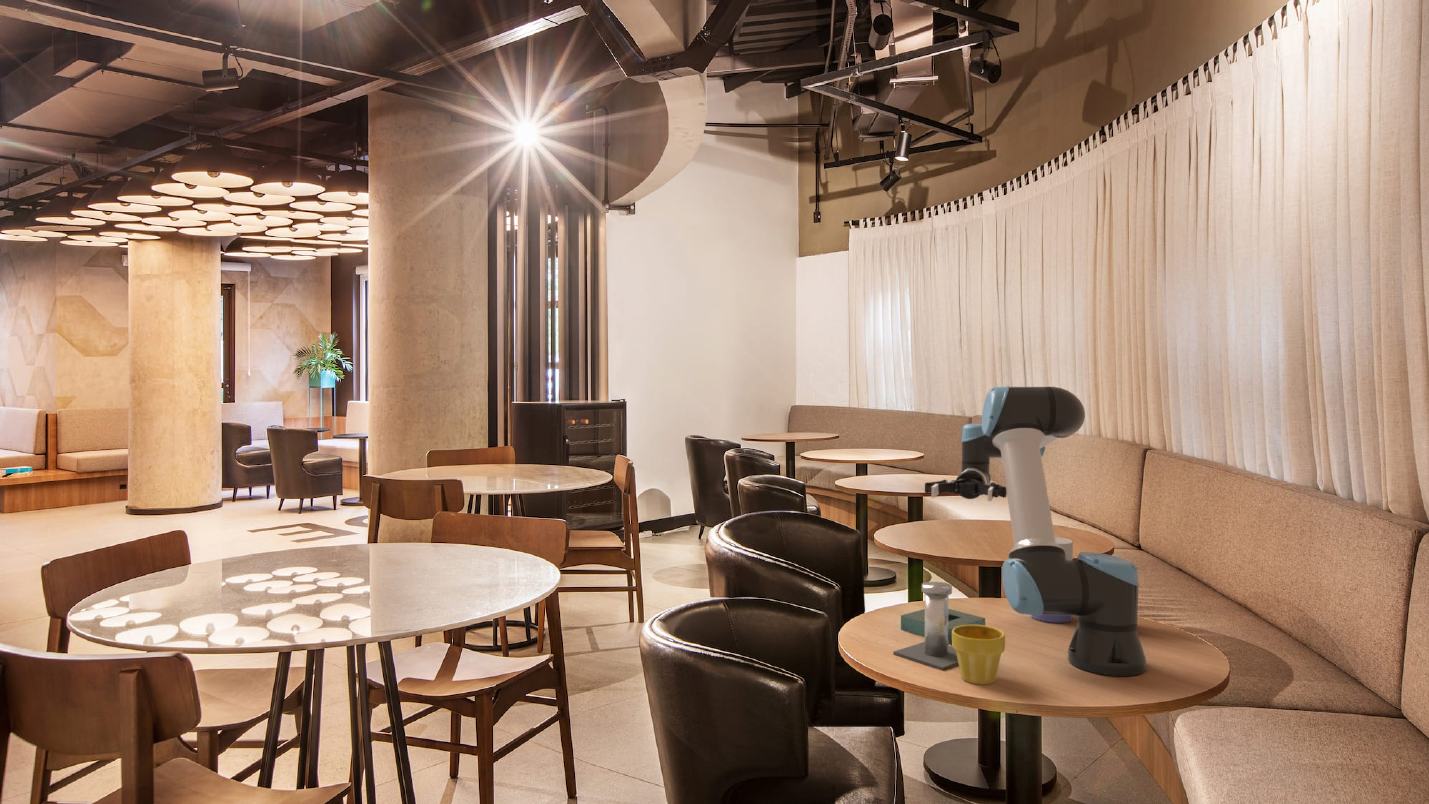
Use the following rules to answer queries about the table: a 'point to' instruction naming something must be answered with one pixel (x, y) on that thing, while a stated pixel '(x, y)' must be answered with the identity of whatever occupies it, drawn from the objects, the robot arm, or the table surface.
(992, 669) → the plant pot
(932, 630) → the plug
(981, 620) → the housing
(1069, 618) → the container
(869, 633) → the table surface
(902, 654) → the mat
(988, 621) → the table surface
